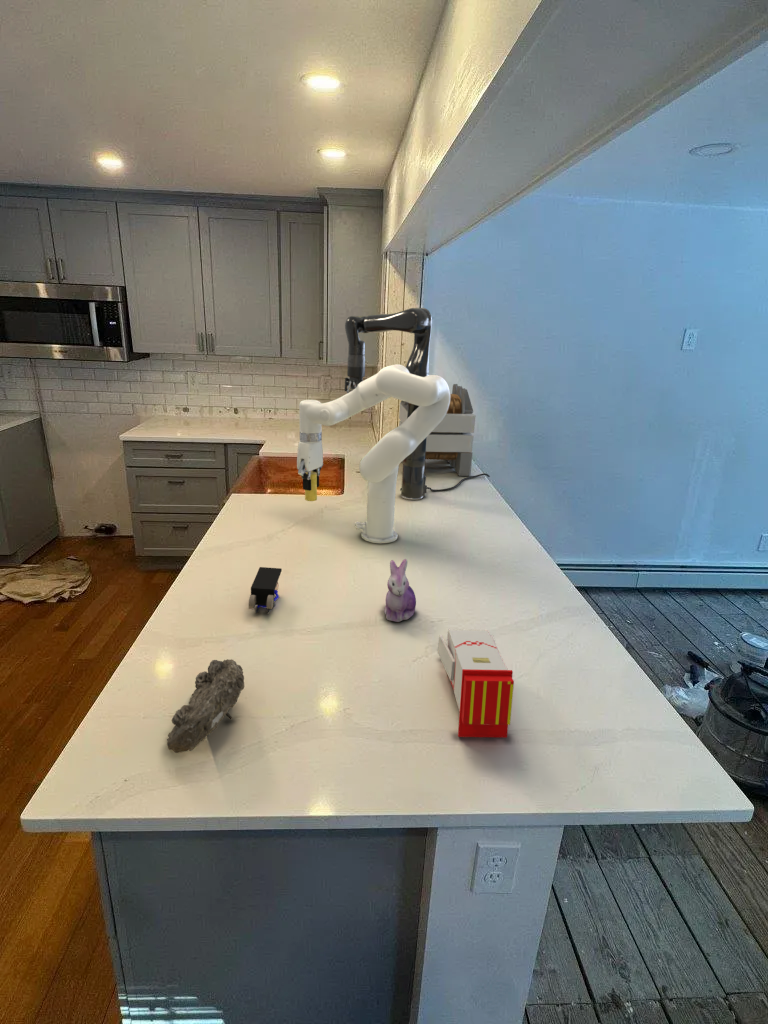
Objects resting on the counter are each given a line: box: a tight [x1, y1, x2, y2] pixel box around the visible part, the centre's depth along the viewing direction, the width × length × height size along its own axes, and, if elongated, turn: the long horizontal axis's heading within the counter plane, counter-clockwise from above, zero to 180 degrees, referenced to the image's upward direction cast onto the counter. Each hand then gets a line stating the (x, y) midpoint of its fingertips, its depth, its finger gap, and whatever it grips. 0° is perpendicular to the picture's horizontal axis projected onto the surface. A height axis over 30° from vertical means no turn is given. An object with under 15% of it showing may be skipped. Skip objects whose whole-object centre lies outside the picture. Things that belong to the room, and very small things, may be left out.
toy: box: [437, 628, 515, 738], centre depth 117 cm, size 12×13×30 cm
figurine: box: [384, 558, 417, 623], centre depth 145 cm, size 9×10×15 cm
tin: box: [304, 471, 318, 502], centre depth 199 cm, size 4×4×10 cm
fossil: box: [166, 658, 245, 754], centre depth 106 cm, size 22×10×15 cm
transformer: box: [398, 383, 476, 477], centre depth 280 cm, size 34×33×41 cm
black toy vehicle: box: [248, 566, 283, 614], centre depth 148 cm, size 7×8×15 cm
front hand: (311, 487), depth 199 cm, fingers closed on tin, 4 cm apart
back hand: (355, 403), depth 248 cm, fingers open, 8 cm apart
